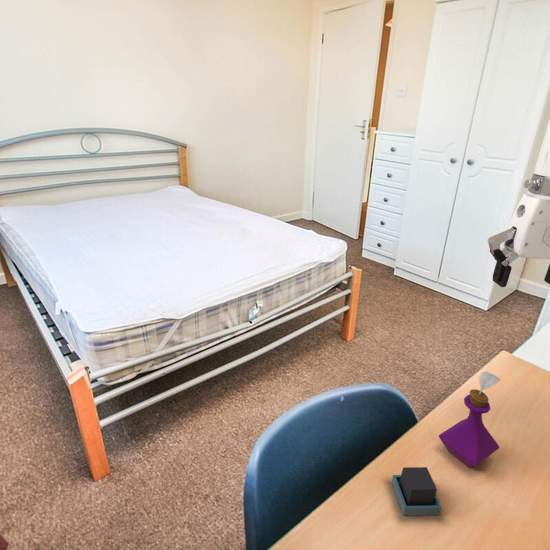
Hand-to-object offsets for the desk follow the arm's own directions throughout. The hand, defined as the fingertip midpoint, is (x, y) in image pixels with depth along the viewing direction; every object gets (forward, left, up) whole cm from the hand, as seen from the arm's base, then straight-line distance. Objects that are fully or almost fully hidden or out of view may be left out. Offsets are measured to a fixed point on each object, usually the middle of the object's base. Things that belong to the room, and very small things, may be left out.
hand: (525, 284), depth 68 cm
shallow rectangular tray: (+18, +22, -30) cm, 42 cm away
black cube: (+18, +22, -30) cm, 41 cm away
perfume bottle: (+7, +12, -31) cm, 33 cm away
